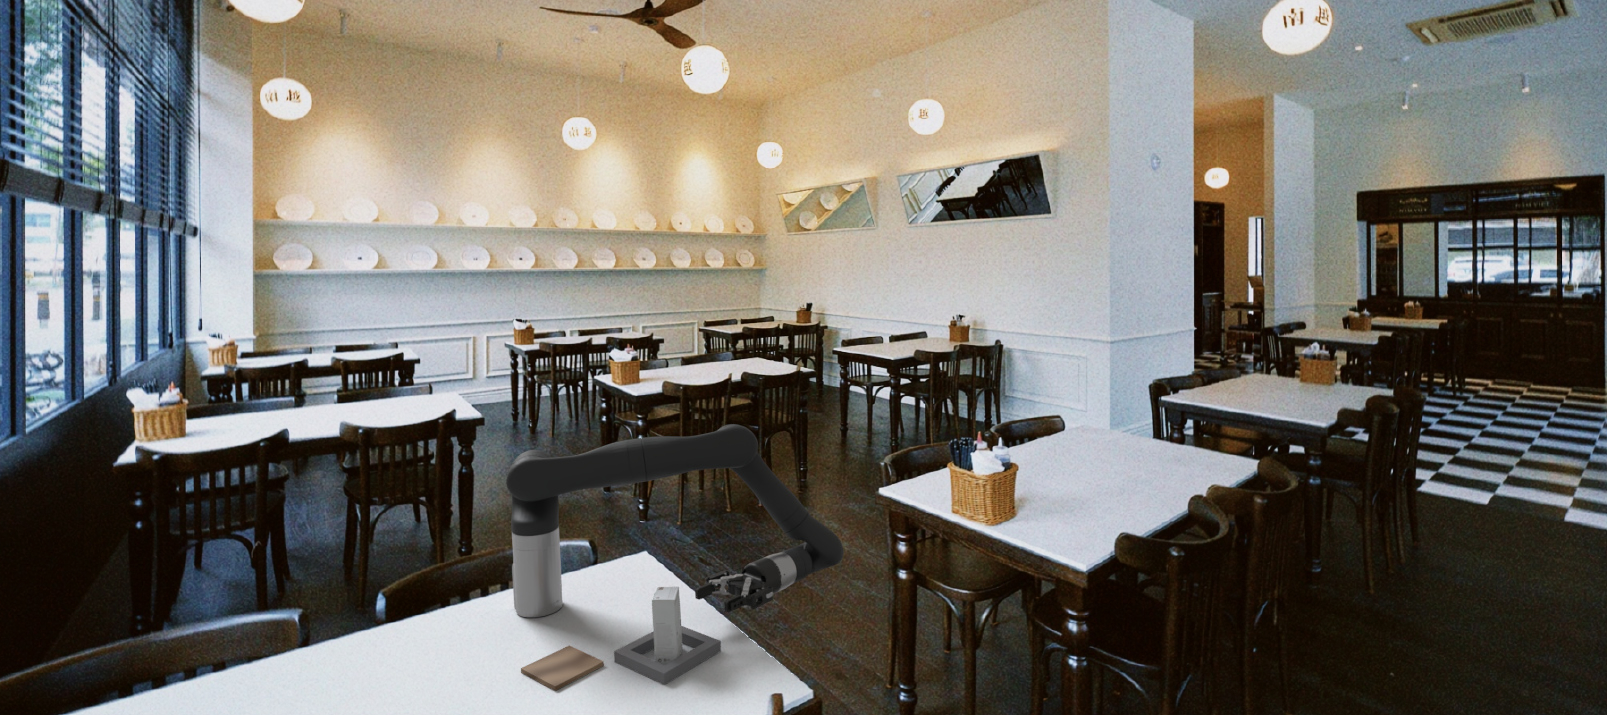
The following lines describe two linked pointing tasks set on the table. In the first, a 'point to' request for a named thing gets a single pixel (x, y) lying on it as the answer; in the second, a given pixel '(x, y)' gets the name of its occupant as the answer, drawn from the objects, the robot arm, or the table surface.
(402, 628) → the table surface
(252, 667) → the table surface
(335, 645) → the table surface
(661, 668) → the socket block
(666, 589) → the skincare box
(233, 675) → the table surface
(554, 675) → the coaster
